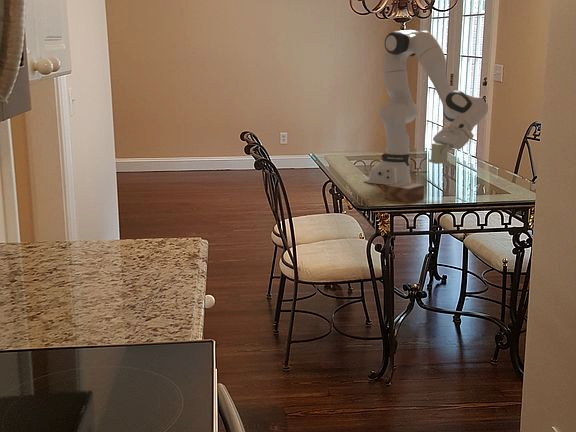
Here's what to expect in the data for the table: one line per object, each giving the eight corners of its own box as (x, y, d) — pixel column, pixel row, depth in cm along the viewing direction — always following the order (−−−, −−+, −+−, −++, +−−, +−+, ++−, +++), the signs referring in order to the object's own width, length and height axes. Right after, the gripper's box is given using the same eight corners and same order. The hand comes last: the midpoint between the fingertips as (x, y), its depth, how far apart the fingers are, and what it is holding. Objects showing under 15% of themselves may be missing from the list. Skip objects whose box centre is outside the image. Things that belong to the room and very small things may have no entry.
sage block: (435, 163, 302) (436, 145, 300) (428, 161, 308) (429, 143, 306) (449, 163, 304) (450, 144, 302) (441, 161, 310) (442, 142, 308)
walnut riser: (384, 199, 304) (385, 185, 302) (399, 195, 312) (400, 181, 311) (409, 202, 296) (409, 188, 295) (423, 198, 305) (424, 184, 303)
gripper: (443, 121, 314) (422, 144, 313) (467, 126, 295) (445, 150, 294) (451, 131, 316) (430, 154, 316) (476, 136, 297) (454, 160, 297)
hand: (438, 152), depth 305 cm, fingers closed on sage block, 5 cm apart
